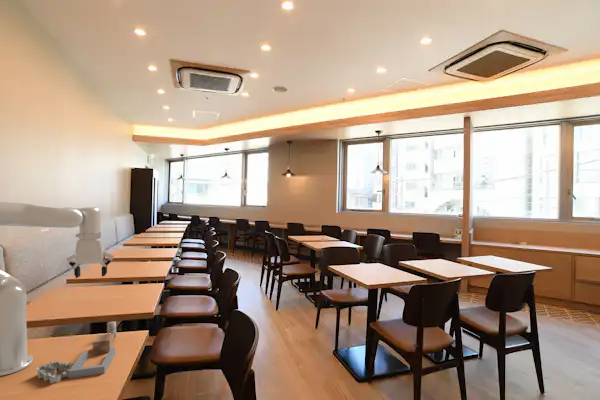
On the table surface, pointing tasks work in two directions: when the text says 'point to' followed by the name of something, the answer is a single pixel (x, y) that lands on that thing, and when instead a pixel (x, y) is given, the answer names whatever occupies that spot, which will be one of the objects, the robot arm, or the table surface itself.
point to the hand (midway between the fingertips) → (91, 276)
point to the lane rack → (90, 370)
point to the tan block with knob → (105, 340)
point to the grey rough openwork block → (54, 371)
